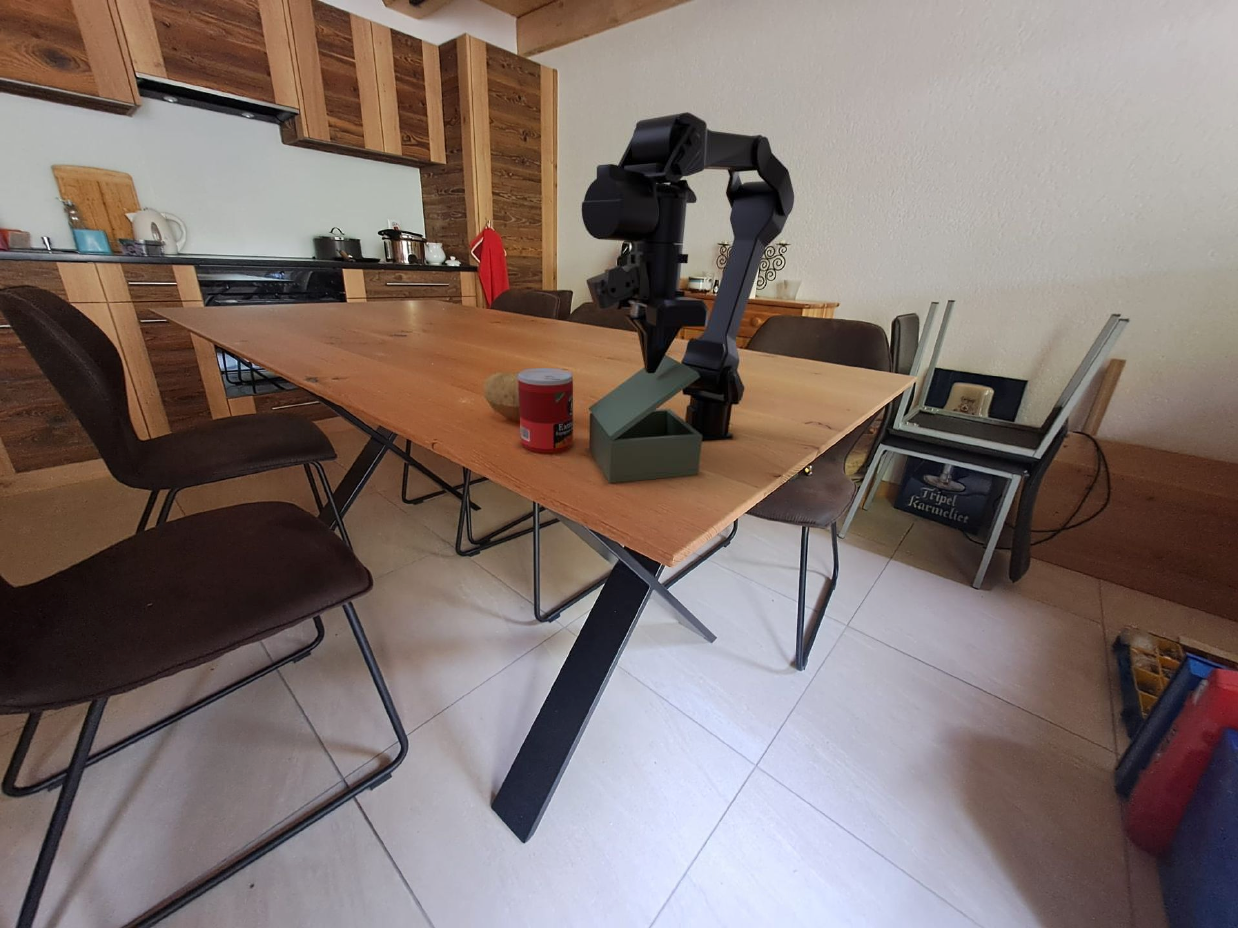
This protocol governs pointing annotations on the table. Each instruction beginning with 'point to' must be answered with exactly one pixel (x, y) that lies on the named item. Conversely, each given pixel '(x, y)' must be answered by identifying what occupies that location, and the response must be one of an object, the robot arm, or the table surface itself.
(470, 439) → the table surface
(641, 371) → the lid
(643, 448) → the chest
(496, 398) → the potato
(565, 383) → the canned food
